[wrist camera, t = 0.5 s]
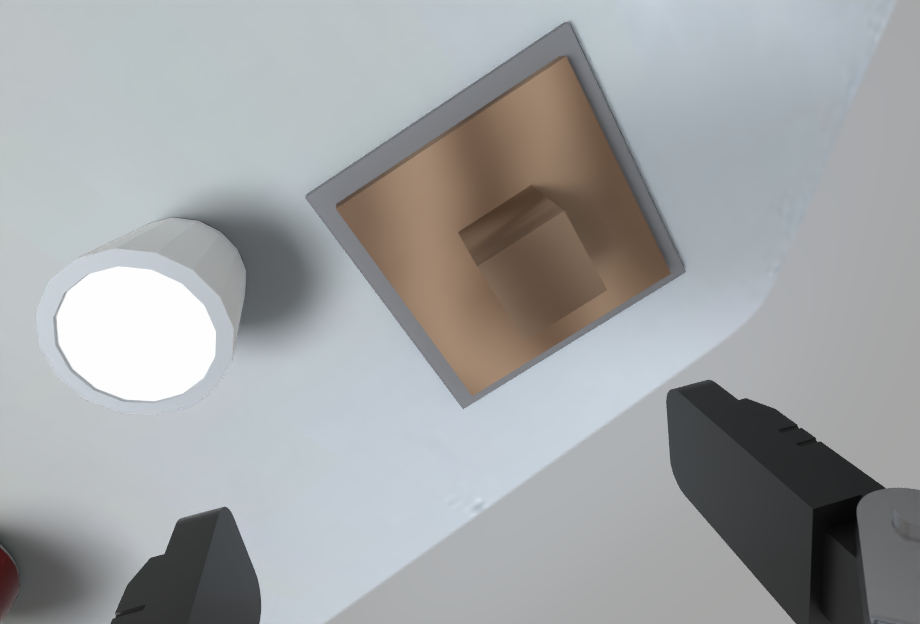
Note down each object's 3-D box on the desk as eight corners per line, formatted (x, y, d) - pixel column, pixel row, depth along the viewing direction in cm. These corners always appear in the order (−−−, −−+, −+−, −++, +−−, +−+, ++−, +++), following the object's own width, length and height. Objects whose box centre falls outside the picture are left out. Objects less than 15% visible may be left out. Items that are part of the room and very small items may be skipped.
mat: (564, 22, 27) (568, 22, 27) (680, 268, 33) (685, 272, 32) (306, 194, 28) (305, 197, 28) (461, 403, 34) (463, 409, 34)
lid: (559, 56, 27) (610, 56, 22) (662, 267, 32) (725, 311, 27) (336, 203, 28) (331, 240, 23) (469, 386, 33) (491, 452, 28)
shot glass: (287, 303, 30) (269, 370, 24) (164, 363, 31) (114, 445, 24) (207, 178, 27) (162, 216, 21) (72, 244, 28) (-12, 302, 21)
